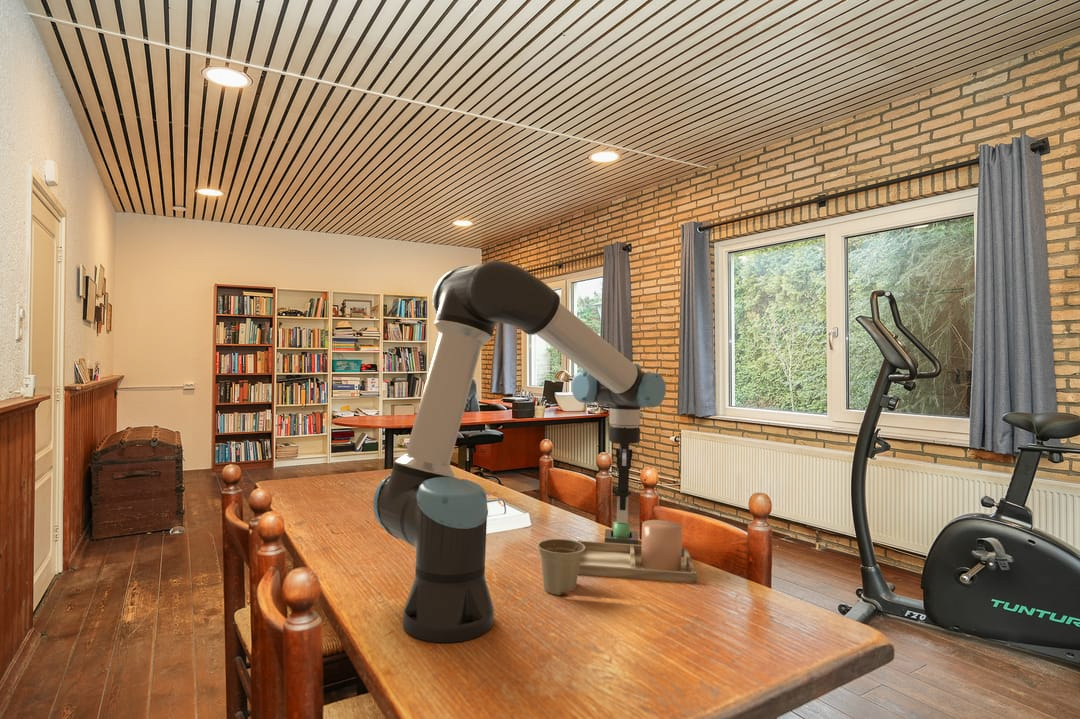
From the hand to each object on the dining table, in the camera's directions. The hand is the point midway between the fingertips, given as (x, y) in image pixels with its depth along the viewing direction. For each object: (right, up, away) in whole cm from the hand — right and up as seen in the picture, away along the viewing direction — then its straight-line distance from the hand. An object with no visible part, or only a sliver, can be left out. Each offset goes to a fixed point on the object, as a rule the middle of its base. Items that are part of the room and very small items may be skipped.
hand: (622, 522), depth 147 cm
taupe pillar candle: (+6, -5, -16) cm, 18 cm away
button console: (0, -6, 0) cm, 6 cm away
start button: (0, -5, 0) cm, 5 cm away
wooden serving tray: (0, -6, -15) cm, 16 cm away
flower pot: (-16, -6, -29) cm, 34 cm away
